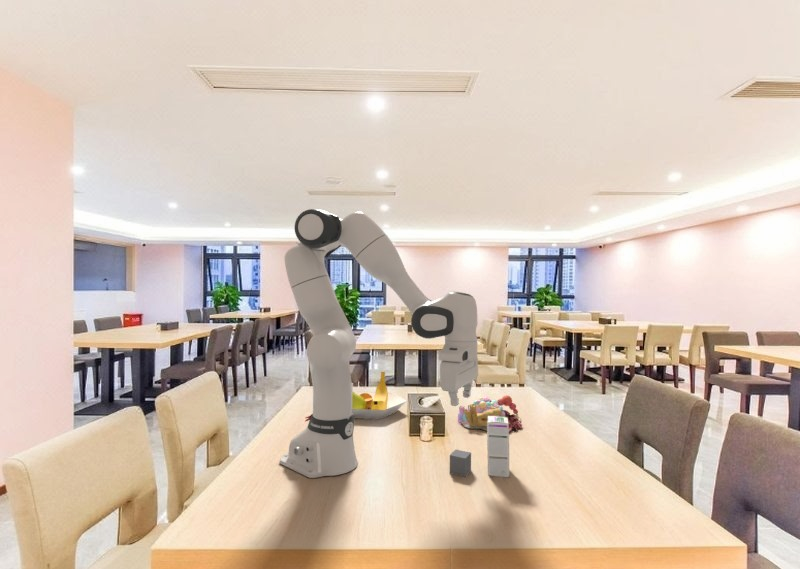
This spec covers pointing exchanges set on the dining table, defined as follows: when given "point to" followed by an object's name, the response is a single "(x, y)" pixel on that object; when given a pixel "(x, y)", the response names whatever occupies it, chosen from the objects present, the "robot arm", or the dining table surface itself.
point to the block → (460, 463)
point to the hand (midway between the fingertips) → (460, 401)
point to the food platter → (488, 413)
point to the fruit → (375, 402)
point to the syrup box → (498, 446)
